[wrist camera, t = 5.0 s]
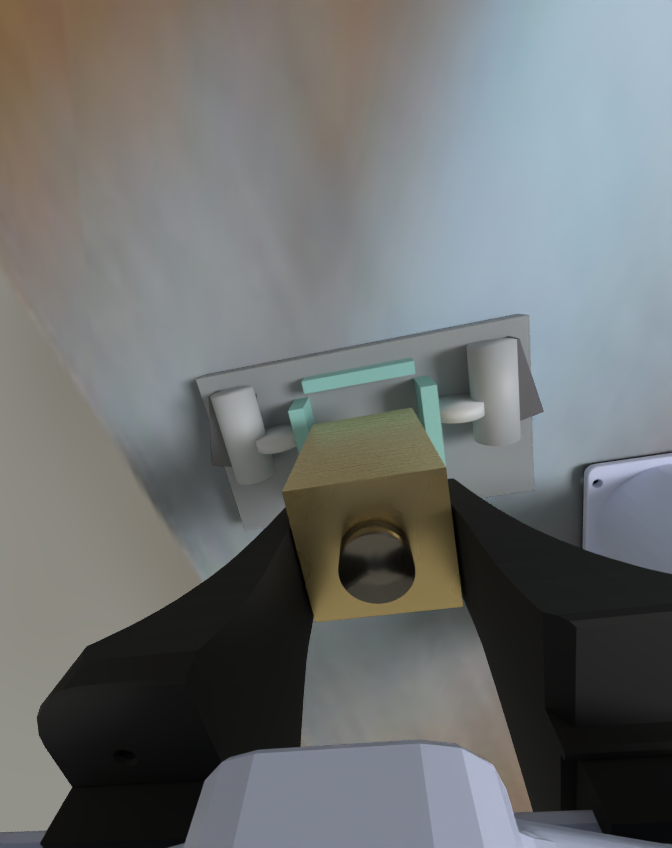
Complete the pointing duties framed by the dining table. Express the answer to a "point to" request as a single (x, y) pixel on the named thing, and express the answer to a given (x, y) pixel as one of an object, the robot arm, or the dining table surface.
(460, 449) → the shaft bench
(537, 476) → the dining table surface
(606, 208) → the dining table surface
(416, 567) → the coupling block
